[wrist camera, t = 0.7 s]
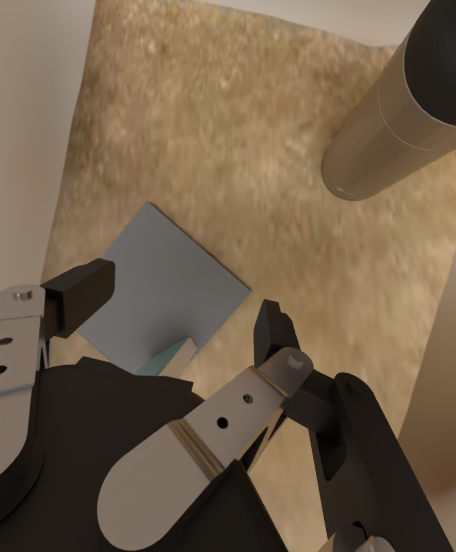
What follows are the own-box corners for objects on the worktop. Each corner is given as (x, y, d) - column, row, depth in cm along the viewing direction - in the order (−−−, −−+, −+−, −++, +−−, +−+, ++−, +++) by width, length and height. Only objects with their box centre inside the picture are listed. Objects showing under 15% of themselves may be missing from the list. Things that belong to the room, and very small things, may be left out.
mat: (150, 203, 35) (146, 200, 34) (251, 290, 34) (251, 291, 33) (63, 311, 37) (57, 313, 36) (157, 397, 36) (154, 401, 35)
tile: (197, 348, 34) (163, 405, 20) (157, 371, 35) (98, 441, 21) (189, 335, 34) (149, 382, 20) (149, 358, 35) (85, 419, 21)
